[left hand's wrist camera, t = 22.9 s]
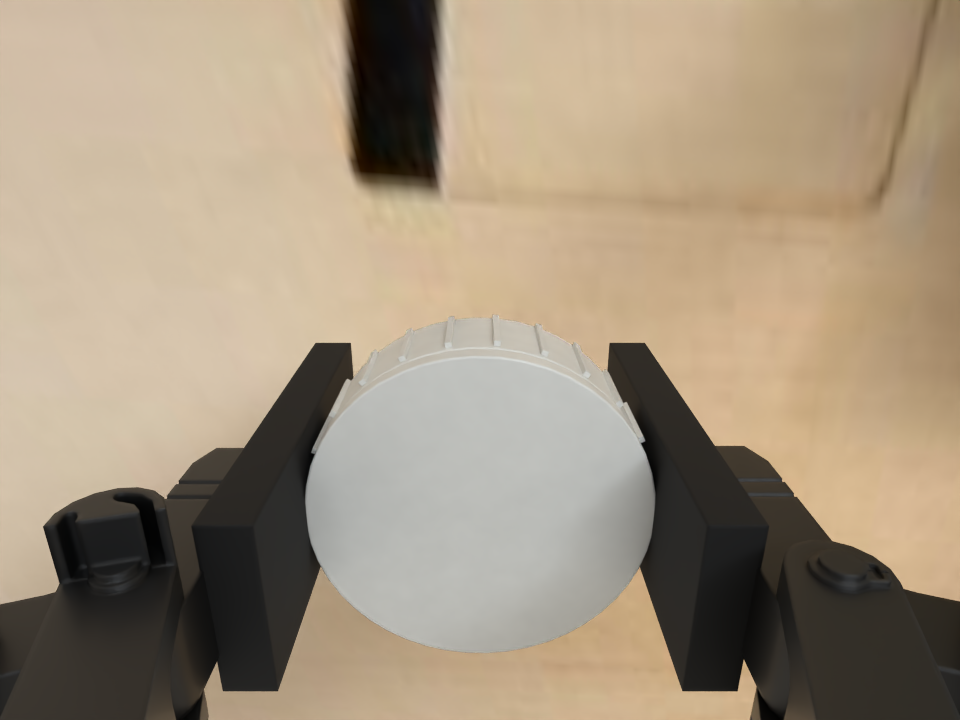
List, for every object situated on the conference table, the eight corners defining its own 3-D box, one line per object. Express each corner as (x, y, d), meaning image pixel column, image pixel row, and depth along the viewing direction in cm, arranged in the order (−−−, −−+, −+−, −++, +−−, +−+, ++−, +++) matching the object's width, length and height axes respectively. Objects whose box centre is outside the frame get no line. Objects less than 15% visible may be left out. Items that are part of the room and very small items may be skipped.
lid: (699, 452, 12) (735, 511, 10) (487, 629, 14) (488, 706, 12) (470, 243, 11) (468, 271, 9) (263, 467, 12) (227, 528, 11)
